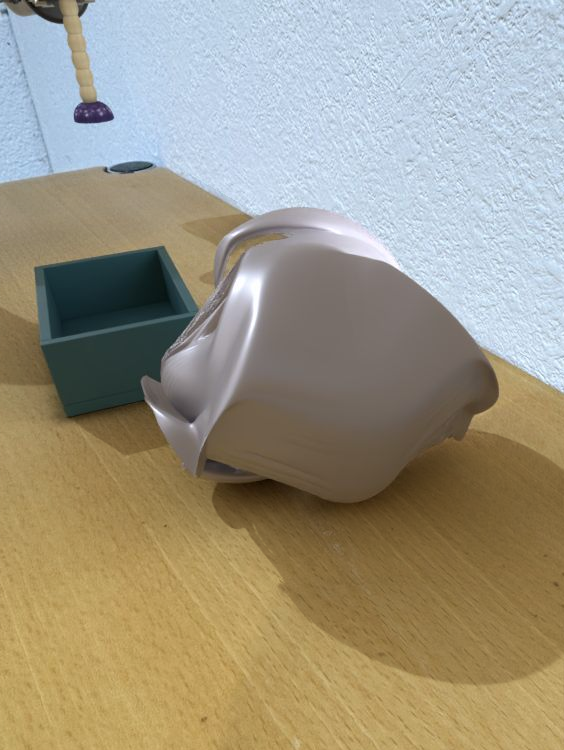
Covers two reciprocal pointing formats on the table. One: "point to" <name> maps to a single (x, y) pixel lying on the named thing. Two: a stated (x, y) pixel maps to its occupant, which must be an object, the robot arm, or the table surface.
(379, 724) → the table surface
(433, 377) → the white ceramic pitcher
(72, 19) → the toy lamp
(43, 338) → the bin
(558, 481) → the table surface
